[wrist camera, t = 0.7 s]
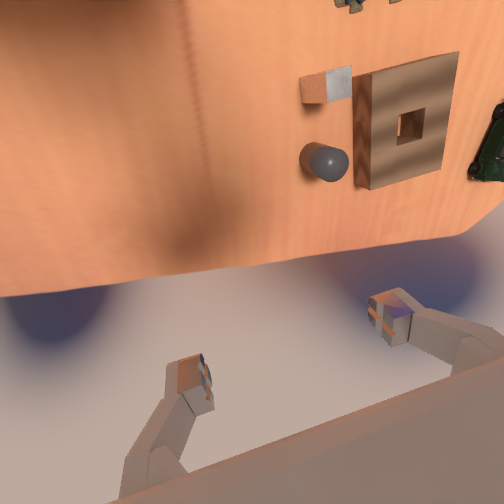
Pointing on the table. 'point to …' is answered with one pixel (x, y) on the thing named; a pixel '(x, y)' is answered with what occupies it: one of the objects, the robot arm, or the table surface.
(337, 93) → the square bit
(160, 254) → the table surface
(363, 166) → the bore block
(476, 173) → the miniature car
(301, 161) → the round bit
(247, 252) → the table surface
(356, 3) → the gear puzzle
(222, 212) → the table surface
